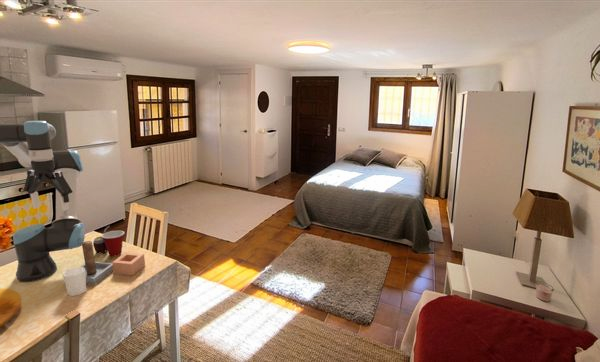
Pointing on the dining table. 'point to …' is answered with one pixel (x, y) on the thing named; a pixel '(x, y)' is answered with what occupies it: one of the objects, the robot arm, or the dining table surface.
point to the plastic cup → (113, 242)
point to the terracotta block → (128, 263)
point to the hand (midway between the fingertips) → (51, 208)
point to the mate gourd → (99, 244)
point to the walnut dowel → (89, 257)
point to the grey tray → (98, 272)
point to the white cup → (75, 280)
